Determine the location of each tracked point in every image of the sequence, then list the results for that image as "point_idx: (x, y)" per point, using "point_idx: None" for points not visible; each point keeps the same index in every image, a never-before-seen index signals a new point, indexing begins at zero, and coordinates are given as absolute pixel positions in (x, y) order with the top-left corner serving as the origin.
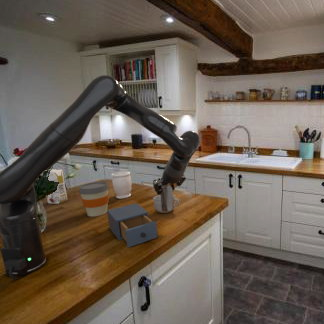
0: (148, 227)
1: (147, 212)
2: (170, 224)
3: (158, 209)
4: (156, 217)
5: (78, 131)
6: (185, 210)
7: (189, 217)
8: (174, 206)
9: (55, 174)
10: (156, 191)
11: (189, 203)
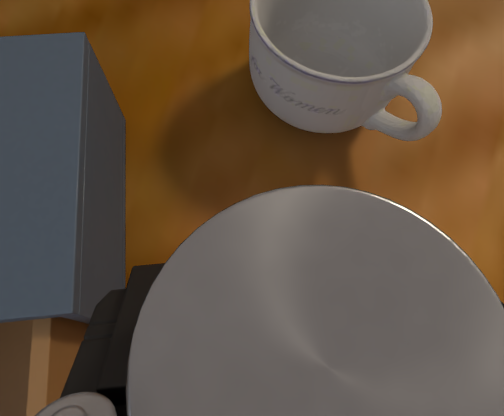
0: None
1: (68, 313)
2: None
3: (263, 100)
4: (234, 153)
5: None
6: (443, 161)
7: None
8: (380, 129)
9: None
10: (98, 328)
11: (498, 68)
